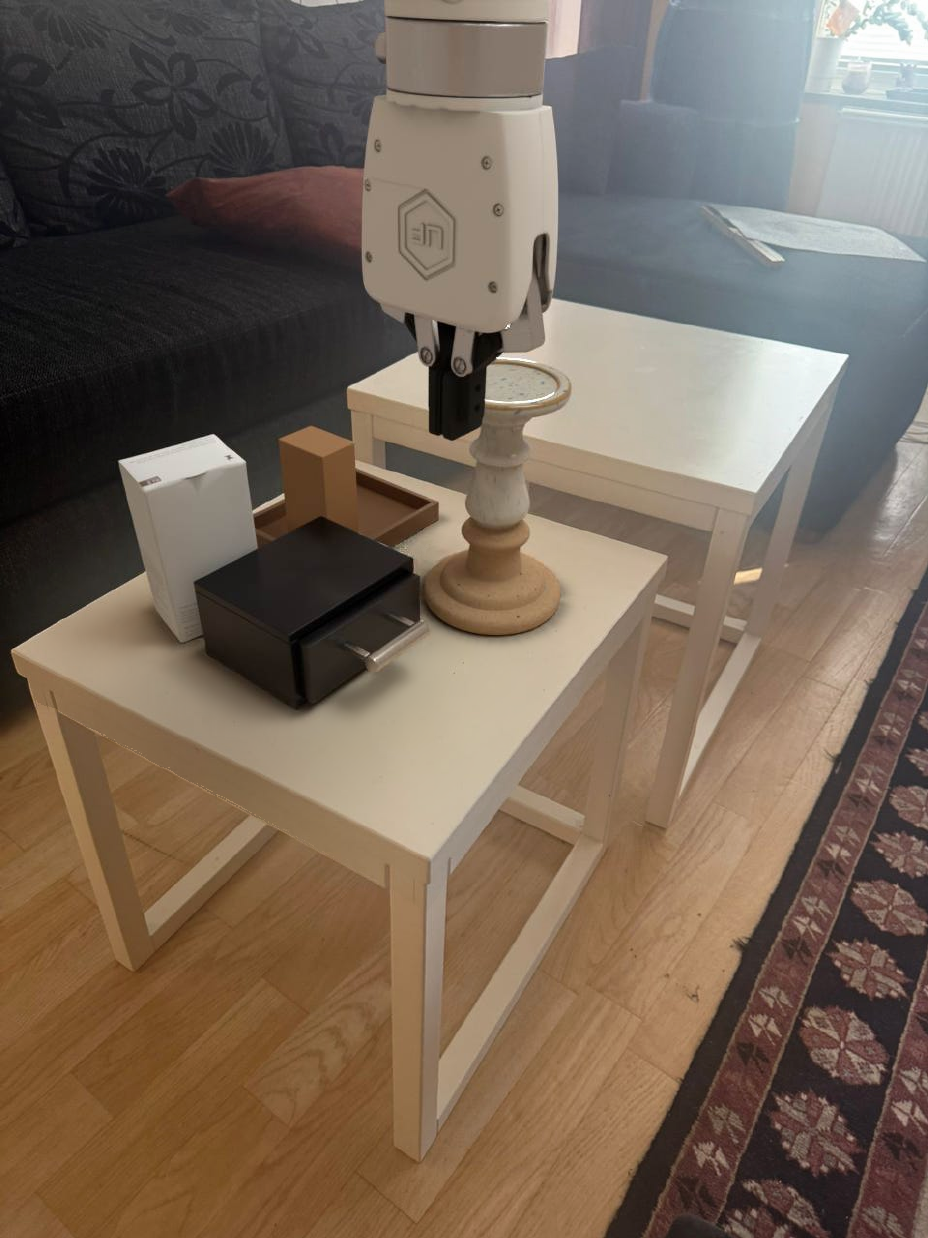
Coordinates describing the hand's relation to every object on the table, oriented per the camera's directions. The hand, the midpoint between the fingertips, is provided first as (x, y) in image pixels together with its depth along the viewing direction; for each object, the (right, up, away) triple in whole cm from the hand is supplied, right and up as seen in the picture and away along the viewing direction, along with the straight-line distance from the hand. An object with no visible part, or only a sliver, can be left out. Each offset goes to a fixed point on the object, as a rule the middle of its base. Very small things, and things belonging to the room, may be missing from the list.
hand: (455, 429), depth 52 cm
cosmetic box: (-22, -11, +23) cm, 34 cm away
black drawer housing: (-12, -13, +21) cm, 27 cm away
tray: (-12, -2, +35) cm, 37 cm away
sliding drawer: (-9, -14, +18) cm, 25 cm away
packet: (-13, -4, +31) cm, 34 cm away
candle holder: (+3, -9, +27) cm, 29 cm away
